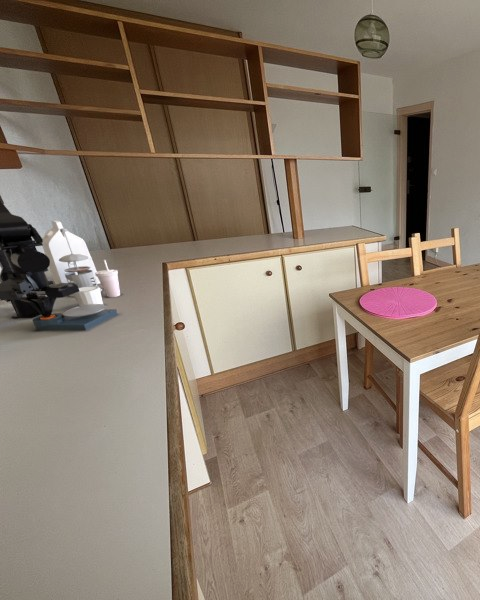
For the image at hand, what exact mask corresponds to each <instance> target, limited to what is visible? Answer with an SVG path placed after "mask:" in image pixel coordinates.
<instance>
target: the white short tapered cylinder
mask: <svg viewBox="0 0 480 600" xmlns="http://www.w3.org/2000/svg"><path fill="white" fill-rule="evenodd" d="M100 288H101V287H100V286H99V285H98V286H87V287H82V288H79V292H76V293H74V296H75V297H74V298H75V300H76V302H77V304H78V306H83V305H89V304H104V302H103V298H102V293H101V292H100Z"/></svg>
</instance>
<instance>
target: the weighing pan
mask: <svg viewBox="0 0 480 600" xmlns="http://www.w3.org/2000/svg"><path fill="white" fill-rule="evenodd" d="M104 309H107V304H104V303H103V304H89V305H83V306H79V305H78V306H75V307H72V308H69V309H67V310H64V311H63V312H62V313H63V316H65V317H80V316H86V315H91V314H95V313H98V312H100V311H103V310H104Z"/></svg>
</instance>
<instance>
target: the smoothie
mask: <svg viewBox="0 0 480 600" xmlns="http://www.w3.org/2000/svg"><path fill="white" fill-rule="evenodd" d="M103 264H104V266H105V269H103V270H98V271H97V272H96V273H95V274H96V276H97V277H98V279H99V281H100V285H101V287H102V289H103V290H104V293H105V294H106V296H107V298H116V297H120V296H121V290H120V284H119V277H118V276H119V275H118V274H119V272H118V271H119V270H118V269H109V267H108V264H107V260H106V259H103Z"/></svg>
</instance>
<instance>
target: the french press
mask: <svg viewBox="0 0 480 600" xmlns="http://www.w3.org/2000/svg"><path fill="white" fill-rule="evenodd" d="M67 231H68V229H67V228H66V227H65V228H64V227H63V228H62V229H60V232H64V234H65V232H67ZM65 237H66V234H65ZM66 240H67V237H66ZM67 242H68V240H67ZM68 245H69V242H68ZM69 248H70V245H69ZM70 251H71V248H70ZM71 253H72V251H71ZM88 258H89V257H88V256H85V255H81V254H70V255H66V256H64V257H62V258H60V259H59V261H61V262H68V266H69V264H71V263H70V262H74V263H73V264H74V266H75V265H76V261H82V260H86V259H88ZM88 269H90V267H88V266H82V267H77V265H76V267H73V268H70V267H69V268H68V269H65V270H64V271H65V272H68V273H66V274H65V277H66V280H67V282H68V283H74V284H76V285H78V288H82V287H87V286H99V284H96V283H97V282H96V281H95V280H96V279H95V278H94V277H95V276H94V274H93V271H92V270H88ZM75 272H77V274H78V275H75ZM91 279H92V280H91ZM68 280H70V281H68ZM92 282H94V283H92ZM99 288H100V293H101V292H102V291H103V288H101V287H99ZM68 296H69V297H72V298H75V296H74V294H71V295H68Z"/></svg>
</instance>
